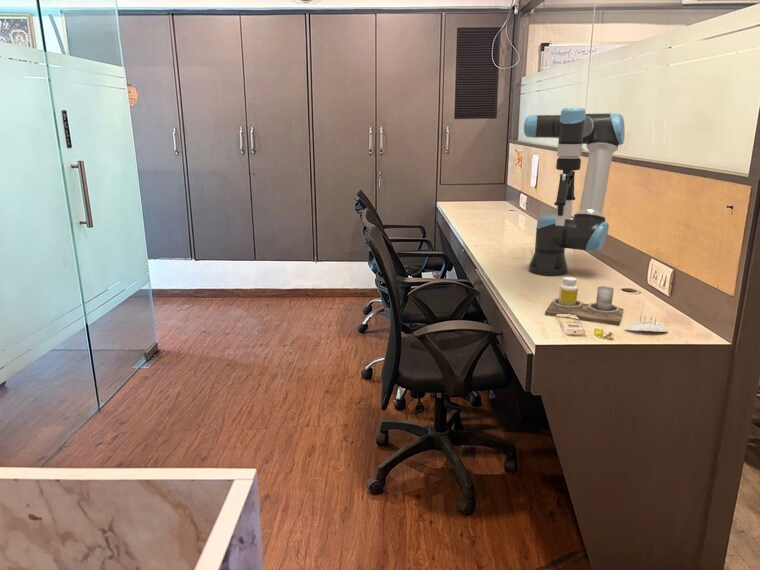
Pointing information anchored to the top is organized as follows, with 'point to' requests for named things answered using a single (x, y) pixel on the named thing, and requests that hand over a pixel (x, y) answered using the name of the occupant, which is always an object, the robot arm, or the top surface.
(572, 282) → the supplement bottle
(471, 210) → the top surface
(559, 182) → the robot arm
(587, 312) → the board
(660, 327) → the pincushion
